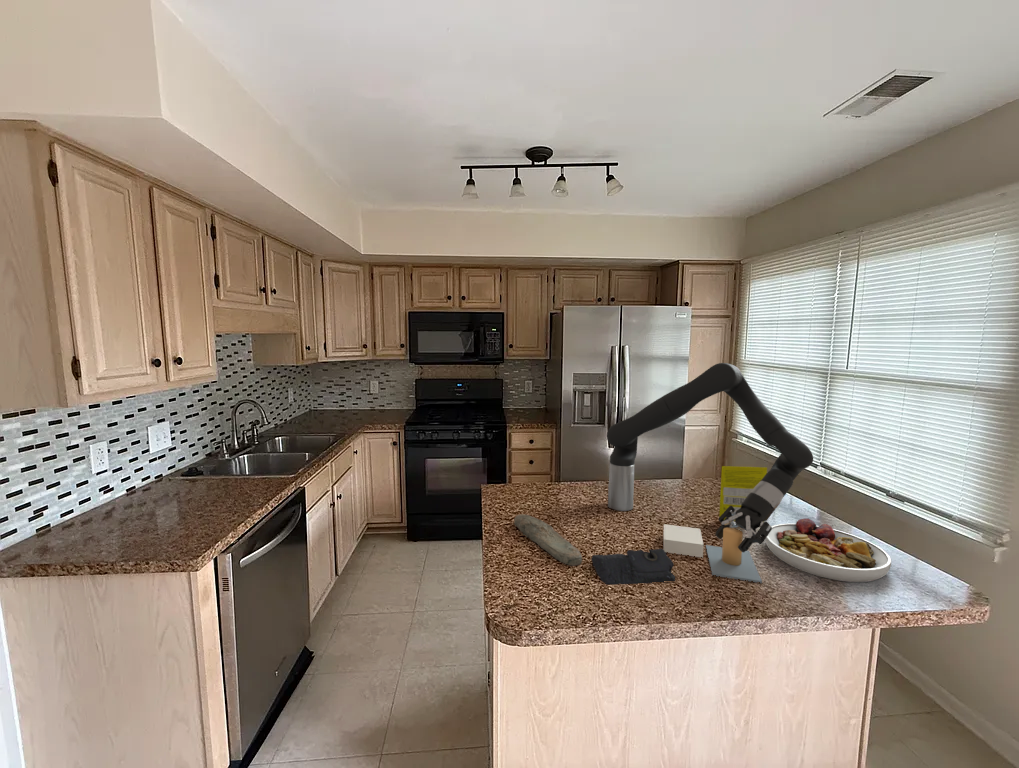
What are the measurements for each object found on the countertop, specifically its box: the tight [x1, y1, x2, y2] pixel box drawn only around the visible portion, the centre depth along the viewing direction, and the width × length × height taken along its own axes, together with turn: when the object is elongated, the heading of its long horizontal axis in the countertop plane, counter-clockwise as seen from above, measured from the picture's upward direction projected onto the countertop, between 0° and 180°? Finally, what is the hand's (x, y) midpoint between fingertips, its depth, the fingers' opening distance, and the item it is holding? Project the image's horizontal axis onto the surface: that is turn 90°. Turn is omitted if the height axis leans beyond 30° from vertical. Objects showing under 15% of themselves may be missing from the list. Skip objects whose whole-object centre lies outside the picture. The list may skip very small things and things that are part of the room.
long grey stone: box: [513, 513, 583, 566], centre depth 141 cm, size 35×5×10 cm
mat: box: [705, 544, 763, 584], centre depth 127 cm, size 12×18×1 cm, turn 161°
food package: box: [718, 465, 768, 522], centre depth 157 cm, size 15×1×20 cm, turn 84°
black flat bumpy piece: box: [590, 548, 676, 586], centre depth 123 cm, size 15×22×5 cm
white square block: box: [662, 523, 704, 558], centre depth 138 cm, size 11×12×4 cm
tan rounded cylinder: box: [722, 527, 744, 565], centre depth 127 cm, size 5×5×9 cm
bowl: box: [764, 518, 892, 583], centre depth 130 cm, size 30×30×8 cm
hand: (728, 543), depth 126 cm, fingers open, 8 cm apart
